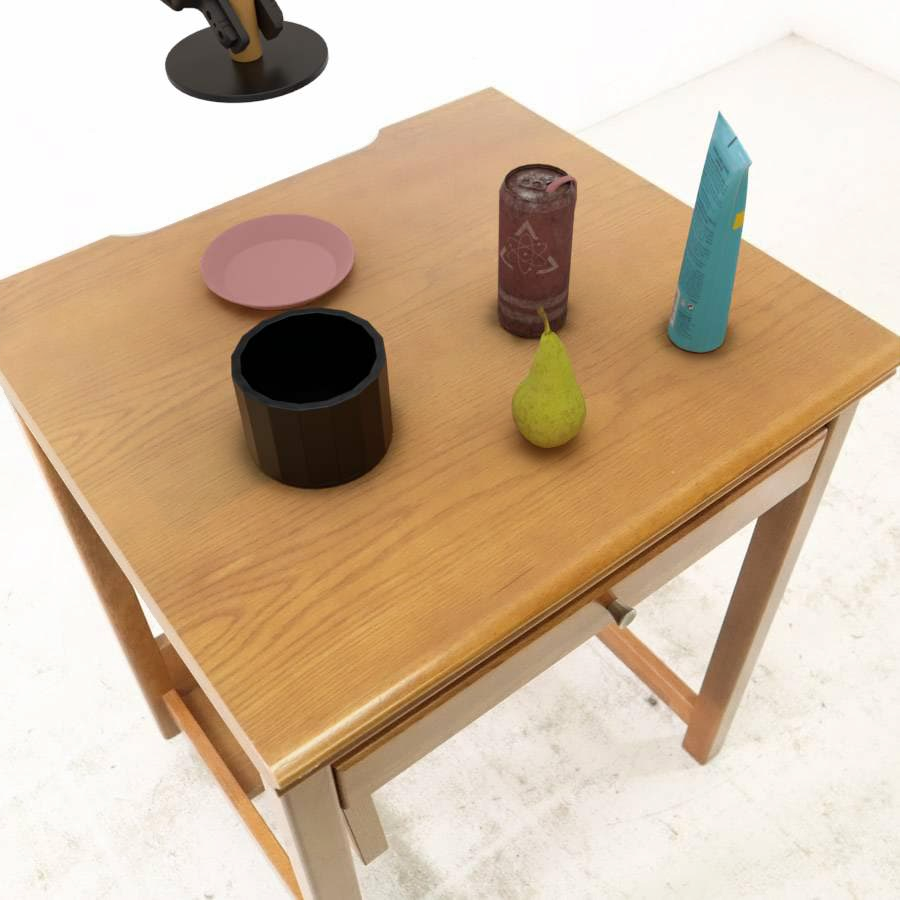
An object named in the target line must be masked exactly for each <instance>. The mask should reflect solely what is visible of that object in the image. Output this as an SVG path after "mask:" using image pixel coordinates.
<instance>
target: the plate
mask: <svg viewBox="0 0 900 900" xmlns="http://www.w3.org/2000/svg"><path fill="white" fill-rule="evenodd" d="M355 258H356V249H355V245H354V243H353V240H352V239H351V237H350V236H349V234H347V232H346V231H345V230H344V229H342V228H341V227H340V226H338V225H337V224H335V223H333V222H331V221H330V220H326V219H324V218H321V217H318V216H315V215H309V214H304V213H303V214H302V213H276V214H267V215H263V216H262V215H261V216H257V217H253V218H251V219H247V220H244V221H242V222H239V223H237V224H235V225H233V226H231V227H229V228H227V229H226V230H224V231H222V232H221V233H220V234H218V235H217V236H216V237H214V238H213V239H212V241H211V242H210V243H209V244H208V245H207V247H205V250H203V253H202V255H201V259H200V263H199V271H200V275H201V279H202V281H203V282H204V284H205V285H206V287H207V288H208V289H209V290H210V291H211V292H213V293H214V294H215V295H217V296H218V297H220V298H221V299H224V300H226V301H229V302H230V303H234V304H236V305H240V306H243V307H247V308H251V309H256V310H261V311H283V310H292V309H295V308H298V307H301V306H302V307H303V306H305V305H307V304H310V303H312V302H314V301H316V300H319V298H321V297H322V296H324V295H326V294H327V293H328V292H330V291H331V290H333V289H334V288H336V287H337V286H338V285H339V284H340V283H342V282H343V281H344V280H345V278H347V276H348V275H349V274H350V272H351V270H352V268H353V266H354V263H355V260H356V259H355Z"/></svg>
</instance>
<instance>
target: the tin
mask: <svg viewBox="0 0 900 900" xmlns="http://www.w3.org/2000/svg"><path fill="white" fill-rule="evenodd" d="M230 371H231V372H230V373H231V380H232V384H233V388H234V394H235V397H236V402H237V405H238V410H239V413H240V419H241V423H242V427H243V431H244V435H245V436H244V437H245V440H246V444H247V449H248V452H249V454H250V455H251V458H252V460H253V462H254V463H255V465H256V466H257V467H258V469H259V470H261V472H262V473H264V475H266V477H269V478H270V479H272V480H274V481H275V482H277V483H280V484H282V485H285V486H289V487H291V488H297V489H304V490H320V489H330V488H335V487H339V486H340V487H341V486H343V485H346V484H349V483H351V482H354V481H356V480H358V479H360V478H362V477H363V476H365V475H366V474H368V473H369V472H371V471H372V470H373V469H374V468H375V467H377V466H378V464H380V462H381V461H382V460H383V459H384V457H385V456H386V455H387V453H388V450H390V446H391V443H392V439H393V434H394V433H393V432H394V428H393V427H394V425H393V417H392V407H391V406H392V404H391V393H390V392H391V391H390V383H389V371H388V359H387V353H386V347H385V341H384V338H383V336H382V335H381V333H380V332H379V331H378V330H377V329H376V328H375V327H374V326H373V324H372V323H371V322H370V321H368V320H367V319H365V318H362V317H361V316H358V315H356V314H354V313H352V312H349V311H347V310H344V309H337V308H329V307H321V306H313V307H305V308H296V309H287V310H286V311H282V312H280V313H278V314H275V315H272V316H270V317H267V318H264V319H263V320H261V321H259V322H258V323H257V324H255V326H253V327H252V328H250V329H249V330H248V331H247V332H245V333H243V335H242V336H241V337H240V339H239V341H238V342H237V345H236V346H235V348H234V349H233V351H232V353H231V355H230Z"/></svg>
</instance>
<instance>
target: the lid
mask: <svg viewBox="0 0 900 900" xmlns="http://www.w3.org/2000/svg"><path fill="white" fill-rule="evenodd" d="M228 1H229V3H230V4H231V6H232V8H233V9H234V11H235V13H236V14H237V16H238V18H239V20H240V21H241V23H242V25H243V26H244V28H245V30H246V31H247V33H248V35H249V37H250V43H249V45H248V46H247V48H246V49H245V51H243V52H241V53H239V54H234V53H233V52H232V51H231V49H230V48H229V49H226V48H225V47H224V46H222V45H221V43H220V42H219V40H218V38H217V36H216V35H215V33H214V31H213V30H212V28H211V27H210V26H207V27H205V28H202V29H199V30H196V31H195V32H192V33H191V34H188V35H187V36H185V37H184V38H182V39H181V40H179V41H178V42H177V43H176V44H175V45H173V47H171V49H170V50H169V51H168V53H167V55H166V57H165V61H164V69H165V74H166V77H167V79H168V82H169V83H170V84H171V85H172V86H173V87H174V88H175V89H176V90H178V91H179V92H181V93H182V94H185V95H187V96H189V97H191V98H195V99H198V100H201V101H205V102H206V101H207V102H211V103H212V102H213V103H220V104H245V103H246V104H247V103H255V102H263V101H268V100H272V99H276V98H280V97H283V96H286V95H289V94H293V93H295V92H296V91H299V90H301V89H303V88H305V87H306V86H309V85H310V84H311V83H313V82H314V81H315V80H317V79H318V78H319V77H321V75H322V74H323V72H324V71H325V70H326V68H327V66H328V64H329V57H330V55H329V48H328V44H327V42H326V40H325V39H324V37H322V36H321V34H320V33H318V32H317V31H315V30H314V29H312V28H310V27H308V26H305V25H303V24H301V23H297V22H294V21H289V20H283V21H282V24H283V29H282V31H281V32H280V33H279V35H278V36H277V37H276V38H274V39H272V40H269V41H268V40H266V39H265V38H264V36H263V34H262V32H261V31H260V29H259V27H258V22H257V16H256V10H255V4H254V0H228Z"/></svg>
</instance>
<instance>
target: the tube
mask: <svg viewBox="0 0 900 900" xmlns="http://www.w3.org/2000/svg"><path fill="white" fill-rule="evenodd" d="M752 164H753V160H752V159H751V157H750V155H749V154H748V151H747V150H746V149H745V147H744V145H743V143H742V142H741V140H740V139H739V137H738V135H737V134H736V132H735V131H734V130H733V127H732V126H731V124H730V123H729V122H728V120H727V119H726V118H725V116H724V115H723V113H722V112H721V110H718V113H717V116H716V119H715V123H714V126H713V130H712V133H711V137H710V141H709V144H708V148H707V151H706V156H705V161H704V164H703V168H702V172H701V176H700V181H699V185H698V190H697V194H696V199H695V203H694V207H693V210H692V211H693V212H692V216H691V221H690V225H689V230H688V234H687V239H686V243H685V247H684V251H683V257H682V262H681V266H680V270H679V275H678V280H677V284H676V288H675V294H674V298H673V302H672V307H671V313H670V318H669V321H668V327H667V334H668V338H669V339H670V341H671V342H672V343H673V344H674V345H675V346H677V347H678V348H680V349H682V350H684V351H687V352H694V353H708V352H712V351H714V350H717V349H718V348H719V347H721V345H723V343H724V341H725V337H726V333H727V327H728V321H729V316H730V309H731V308H730V307H731V303H732V297H733V292H734V285H735V279H736V273H737V268H738V267H737V266H738V261H739V255H740V248H741V243H742V242H741V241H742V235H743V230H744V229H743V228H744V223H745V222H744V221H745V215H746V214H745V213H746V208H747V207H746V205H747V197H748V188H749V187H748V186H749V170H750V167H751V166H752Z"/></svg>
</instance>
